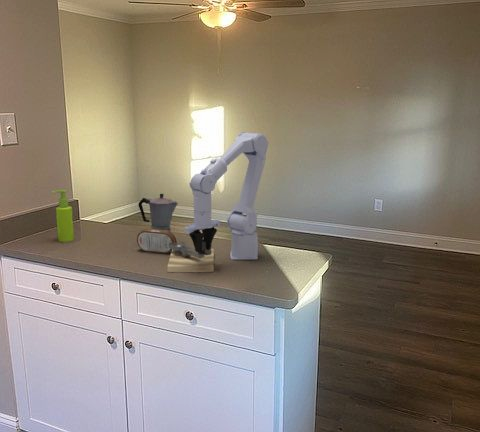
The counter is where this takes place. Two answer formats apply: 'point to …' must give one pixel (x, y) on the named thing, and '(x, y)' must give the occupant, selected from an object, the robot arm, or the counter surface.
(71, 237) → the soap dispenser
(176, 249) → the lever
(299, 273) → the counter surface
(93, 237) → the counter surface
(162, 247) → the tin
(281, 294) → the counter surface
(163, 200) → the moka pot
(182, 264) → the light wooden flat block
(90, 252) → the counter surface
